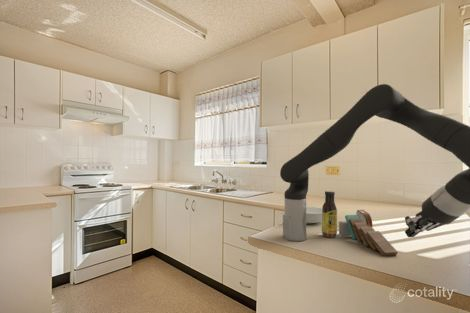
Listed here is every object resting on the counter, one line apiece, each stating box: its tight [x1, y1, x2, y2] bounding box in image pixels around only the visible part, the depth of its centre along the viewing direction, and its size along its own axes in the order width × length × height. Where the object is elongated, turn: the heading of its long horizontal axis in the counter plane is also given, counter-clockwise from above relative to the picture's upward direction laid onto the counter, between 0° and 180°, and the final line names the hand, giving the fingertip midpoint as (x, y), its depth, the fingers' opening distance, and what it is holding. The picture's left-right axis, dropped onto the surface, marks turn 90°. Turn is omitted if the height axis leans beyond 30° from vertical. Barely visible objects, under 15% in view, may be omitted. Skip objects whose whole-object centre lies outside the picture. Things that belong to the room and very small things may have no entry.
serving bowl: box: [306, 205, 322, 225], centre depth 126 cm, size 21×21×7 cm
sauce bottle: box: [321, 190, 338, 238], centre depth 102 cm, size 6×6×20 cm
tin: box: [355, 209, 373, 228], centre depth 113 cm, size 15×3×8 cm, turn 168°
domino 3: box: [353, 223, 372, 248], centre depth 93 cm, size 2×5×10 cm
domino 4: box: [359, 226, 380, 252], centre depth 89 cm, size 2×5×10 cm
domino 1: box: [344, 214, 358, 240], centre depth 100 cm, size 2×5×10 cm
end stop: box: [338, 220, 352, 237], centre depth 103 cm, size 3×9×6 cm, turn 97°
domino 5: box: [366, 230, 398, 257], centre depth 85 cm, size 2×5×10 cm
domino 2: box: [348, 218, 364, 244], centre depth 96 cm, size 2×5×10 cm
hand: (408, 234), depth 73 cm, fingers closed
